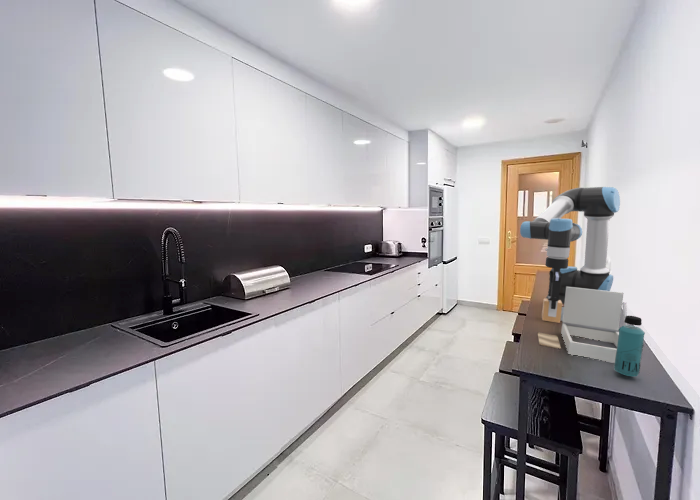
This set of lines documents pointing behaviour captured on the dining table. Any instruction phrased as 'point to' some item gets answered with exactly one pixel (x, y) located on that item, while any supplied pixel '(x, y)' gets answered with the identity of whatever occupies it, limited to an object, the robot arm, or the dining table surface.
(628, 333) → the beverage bottle
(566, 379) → the dining table surface
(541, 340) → the metal plate
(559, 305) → the tan and grey block
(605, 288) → the robot arm
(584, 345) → the equipment case
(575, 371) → the dining table surface
